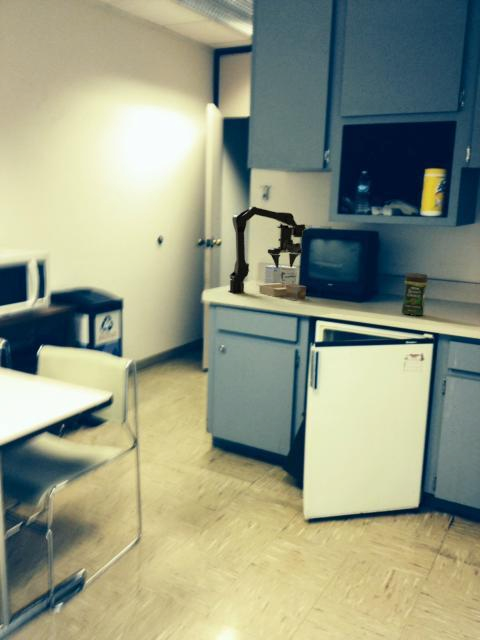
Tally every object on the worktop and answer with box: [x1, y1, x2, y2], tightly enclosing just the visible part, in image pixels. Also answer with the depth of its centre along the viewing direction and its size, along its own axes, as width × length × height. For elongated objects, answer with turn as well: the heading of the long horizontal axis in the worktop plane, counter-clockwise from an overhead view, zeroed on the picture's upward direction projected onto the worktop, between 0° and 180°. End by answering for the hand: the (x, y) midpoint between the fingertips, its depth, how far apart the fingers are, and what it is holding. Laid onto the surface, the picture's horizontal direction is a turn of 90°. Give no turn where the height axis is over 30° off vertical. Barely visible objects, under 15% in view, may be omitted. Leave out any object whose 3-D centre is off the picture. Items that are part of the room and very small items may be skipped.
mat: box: [281, 296, 310, 302], centre depth 307 cm, size 10×9×1 cm
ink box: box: [280, 265, 298, 285], centre depth 341 cm, size 9×5×12 cm, turn 73°
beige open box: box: [256, 283, 286, 297], centre depth 320 cm, size 15×18×4 cm
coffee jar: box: [401, 272, 428, 316], centre depth 275 cm, size 10×8×19 cm
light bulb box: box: [264, 264, 283, 284], centre depth 352 cm, size 11×7×11 cm, turn 136°
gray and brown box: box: [285, 284, 307, 299], centre depth 307 cm, size 5×9×6 cm, turn 35°
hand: (284, 267), depth 324 cm, fingers open, 9 cm apart
